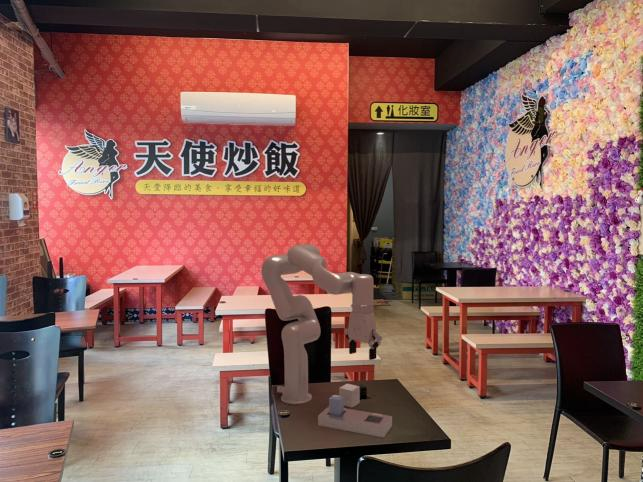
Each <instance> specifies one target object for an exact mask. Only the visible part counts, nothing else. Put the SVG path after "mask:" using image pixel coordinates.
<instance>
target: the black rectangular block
mask: <svg viewBox="0 0 643 482" xmlns="http://www.w3.org/2000/svg"><path fill="white" fill-rule="evenodd" d="M356 386H359V387H360V401H365V400H370V399H372V397H371V396H370V395H369V394H368V392H367V386H366V385H365V384H363V383H360V384H356ZM362 399H364V400H362Z"/></svg>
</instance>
